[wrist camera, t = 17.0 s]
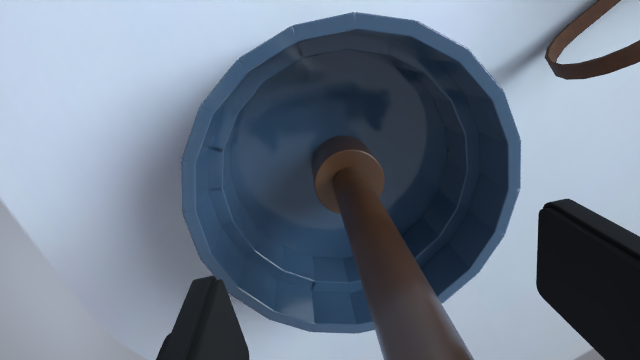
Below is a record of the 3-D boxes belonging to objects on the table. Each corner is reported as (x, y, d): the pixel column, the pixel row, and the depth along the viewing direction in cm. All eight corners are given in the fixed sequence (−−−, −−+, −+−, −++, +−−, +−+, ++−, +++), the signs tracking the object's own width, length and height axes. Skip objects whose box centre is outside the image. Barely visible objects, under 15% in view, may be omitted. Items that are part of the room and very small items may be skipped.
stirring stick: (318, 199, 21) (369, 487, 7) (305, 142, 20) (339, 361, 6) (376, 186, 21) (538, 451, 7) (367, 129, 20) (544, 317, 6)
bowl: (250, 287, 24) (237, 359, 19) (174, 57, 19) (123, 61, 13) (466, 240, 24) (519, 298, 19) (453, -3, 19) (522, -25, 13)
